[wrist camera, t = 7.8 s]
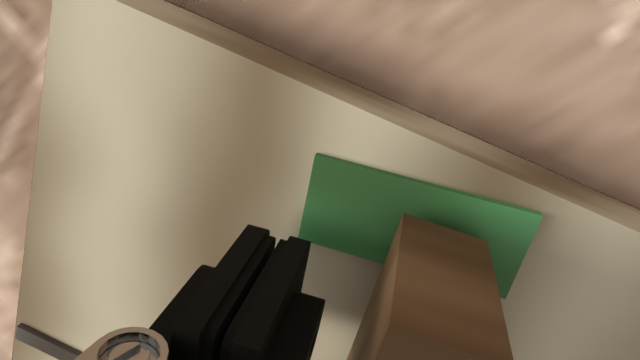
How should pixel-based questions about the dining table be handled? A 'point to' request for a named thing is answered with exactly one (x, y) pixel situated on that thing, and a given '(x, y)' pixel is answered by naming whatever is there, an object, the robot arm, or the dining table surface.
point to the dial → (434, 300)
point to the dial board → (283, 191)
